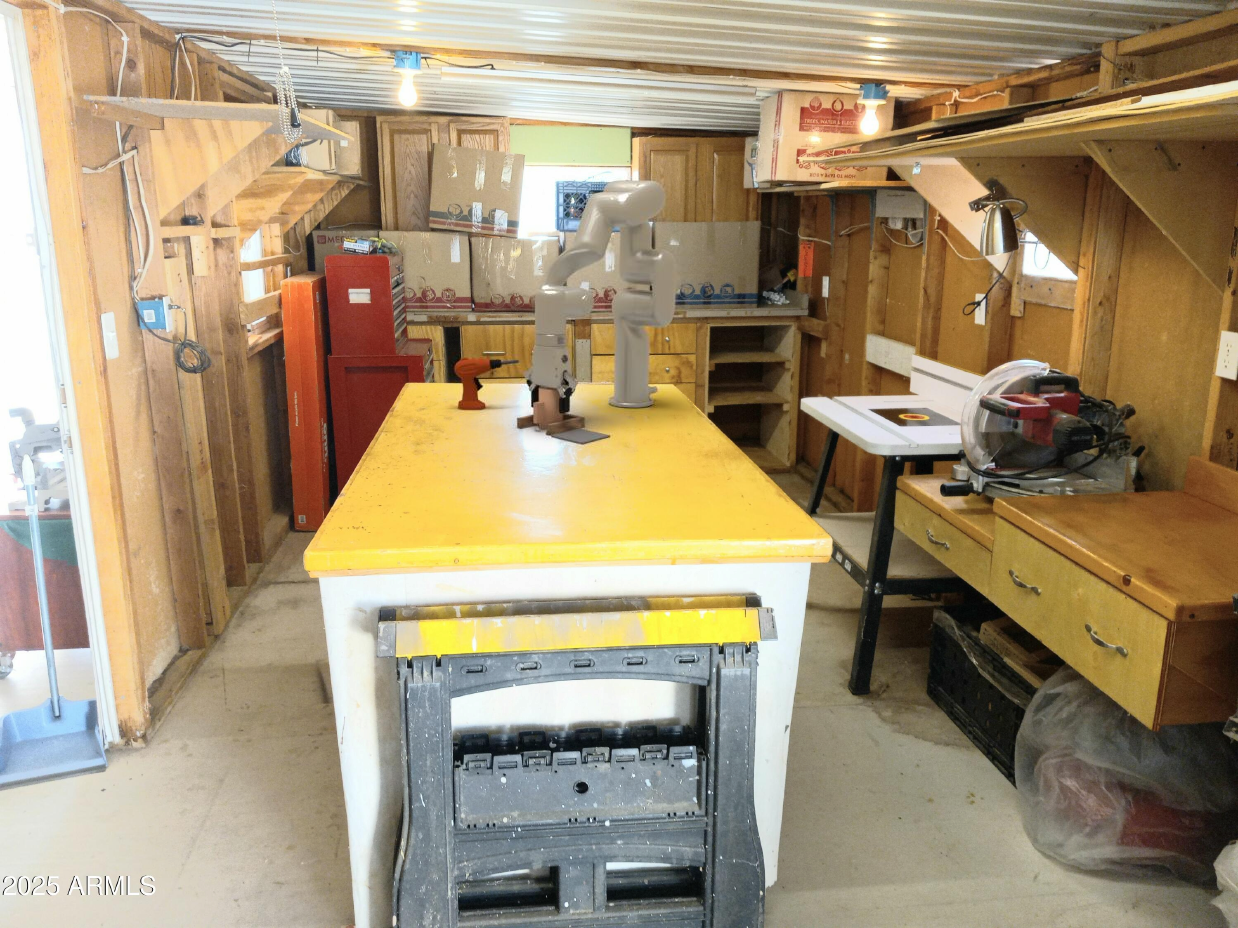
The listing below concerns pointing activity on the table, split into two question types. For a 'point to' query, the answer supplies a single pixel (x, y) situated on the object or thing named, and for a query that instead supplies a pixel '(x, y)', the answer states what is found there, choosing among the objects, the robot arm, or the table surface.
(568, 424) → the brown wooden u-shaped piece
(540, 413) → the pink mug
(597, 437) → the mat
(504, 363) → the toy drill
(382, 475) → the table surface
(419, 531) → the table surface
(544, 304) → the robot arm
